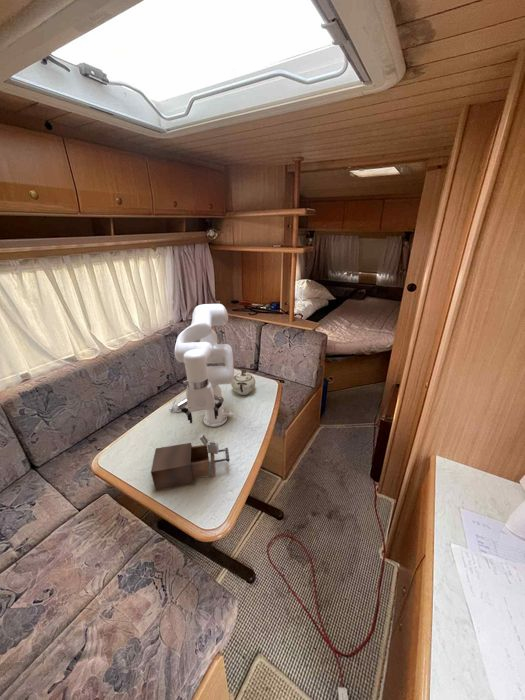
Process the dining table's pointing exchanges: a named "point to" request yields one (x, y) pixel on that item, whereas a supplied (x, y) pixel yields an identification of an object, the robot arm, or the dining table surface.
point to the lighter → (210, 445)
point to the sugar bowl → (243, 383)
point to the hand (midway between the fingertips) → (203, 419)
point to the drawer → (204, 461)
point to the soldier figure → (175, 407)
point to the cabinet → (172, 466)
